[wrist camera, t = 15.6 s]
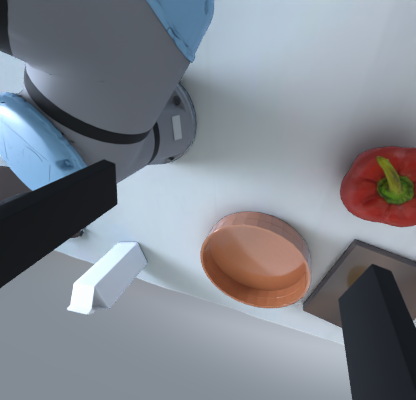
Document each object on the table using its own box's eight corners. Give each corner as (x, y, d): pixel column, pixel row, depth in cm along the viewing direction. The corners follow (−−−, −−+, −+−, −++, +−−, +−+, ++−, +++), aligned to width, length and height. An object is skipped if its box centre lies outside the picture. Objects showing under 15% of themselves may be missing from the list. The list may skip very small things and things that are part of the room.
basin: (200, 266, 54) (193, 280, 51) (219, 195, 42) (211, 207, 39) (285, 304, 50) (283, 322, 46) (332, 238, 38) (334, 255, 35)
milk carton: (119, 241, 62) (57, 298, 47) (138, 241, 59) (78, 302, 43) (129, 261, 65) (74, 320, 49) (148, 262, 61) (95, 325, 46)
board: (303, 304, 48) (303, 310, 47) (354, 239, 37) (356, 244, 36) (376, 337, 45) (378, 344, 44) (457, 277, 34) (463, 285, 33)
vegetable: (321, 152, 32) (326, 179, 24) (410, 111, 27) (456, 129, 19) (351, 211, 35) (364, 254, 27) (438, 186, 29) (488, 230, 21)
